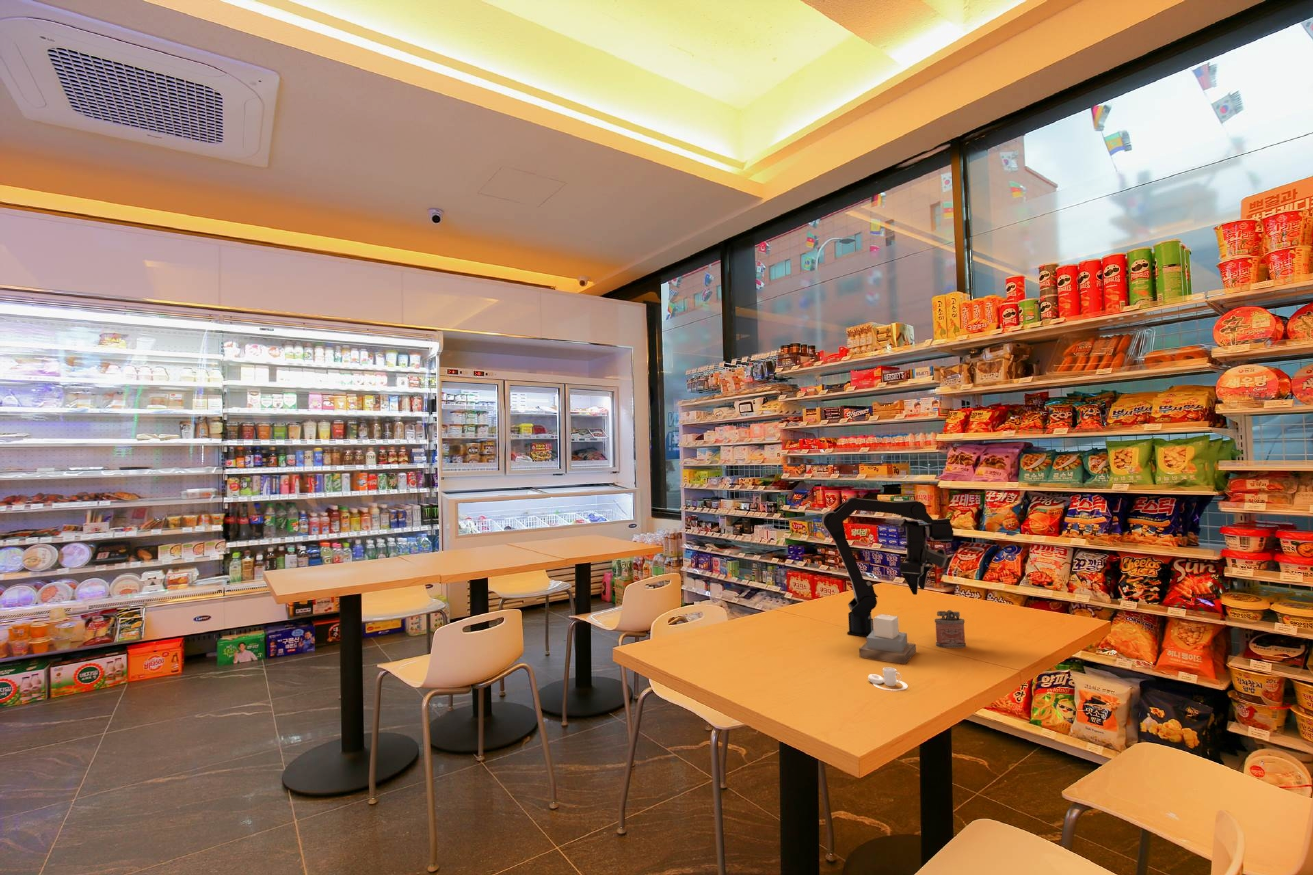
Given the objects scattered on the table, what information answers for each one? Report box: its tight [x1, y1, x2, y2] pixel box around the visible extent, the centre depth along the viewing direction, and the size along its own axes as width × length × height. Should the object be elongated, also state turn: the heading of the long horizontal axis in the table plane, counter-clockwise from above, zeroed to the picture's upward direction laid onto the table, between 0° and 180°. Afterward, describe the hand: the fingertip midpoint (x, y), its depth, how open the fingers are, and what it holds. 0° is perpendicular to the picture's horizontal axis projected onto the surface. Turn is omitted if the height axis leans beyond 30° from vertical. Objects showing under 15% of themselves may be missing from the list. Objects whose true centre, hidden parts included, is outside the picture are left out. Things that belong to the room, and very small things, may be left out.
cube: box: [873, 613, 900, 639], centre depth 171 cm, size 5×5×5 cm
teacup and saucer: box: [867, 666, 909, 692], centre depth 148 cm, size 9×8×4 cm
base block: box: [858, 642, 917, 665], centre depth 171 cm, size 12×12×3 cm
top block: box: [866, 630, 908, 653], centre depth 171 cm, size 9×9×3 cm
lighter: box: [934, 609, 967, 649], centre depth 177 cm, size 8×3×10 cm, turn 84°
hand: (918, 591), depth 190 cm, fingers open, 9 cm apart
